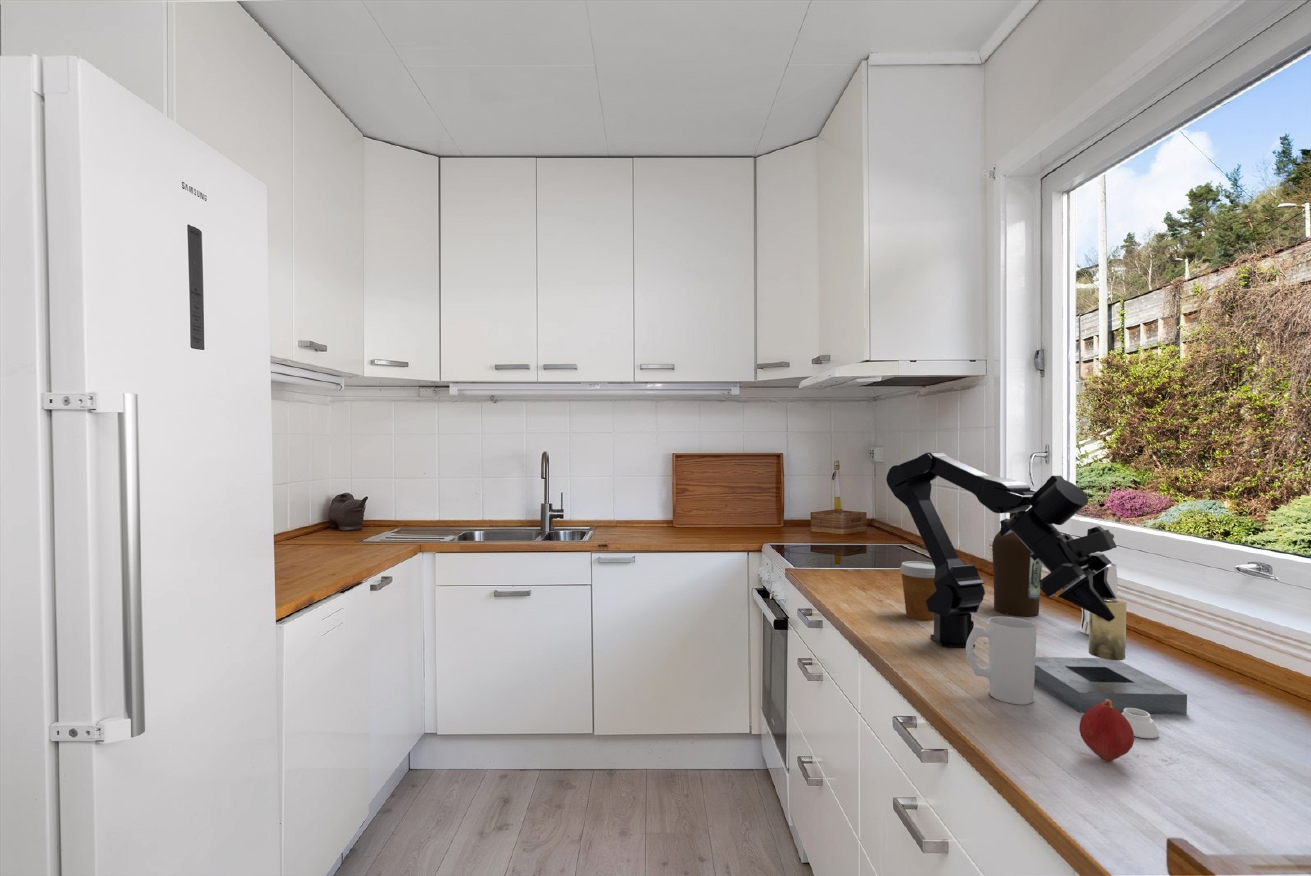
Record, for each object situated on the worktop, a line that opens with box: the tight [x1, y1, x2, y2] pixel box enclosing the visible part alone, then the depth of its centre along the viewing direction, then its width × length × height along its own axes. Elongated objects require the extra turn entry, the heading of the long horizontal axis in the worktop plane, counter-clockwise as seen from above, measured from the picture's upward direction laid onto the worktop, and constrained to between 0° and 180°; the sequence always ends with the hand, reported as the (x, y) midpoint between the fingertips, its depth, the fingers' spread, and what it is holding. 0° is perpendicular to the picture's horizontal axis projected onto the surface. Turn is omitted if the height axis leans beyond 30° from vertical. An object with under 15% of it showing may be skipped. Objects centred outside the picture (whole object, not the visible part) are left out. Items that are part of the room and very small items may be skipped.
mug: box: [965, 616, 1038, 705], centre depth 106 cm, size 10×7×12 cm, turn 71°
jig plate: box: [1034, 656, 1188, 715], centre depth 107 cm, size 16×16×3 cm
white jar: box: [1121, 708, 1160, 739], centre depth 93 cm, size 5×3×5 cm
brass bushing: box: [1088, 597, 1127, 661], centre depth 108 cm, size 5×5×9 cm
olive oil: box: [991, 512, 1043, 617], centre depth 157 cm, size 11×11×25 cm
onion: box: [1078, 699, 1135, 763], centre depth 85 cm, size 6×6×8 cm
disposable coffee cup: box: [899, 560, 936, 621], centre depth 152 cm, size 10×10×12 cm
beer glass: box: [1079, 563, 1118, 636], centre depth 140 cm, size 7×7×15 cm
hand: (1117, 616), depth 107 cm, fingers closed on brass bushing, 5 cm apart
